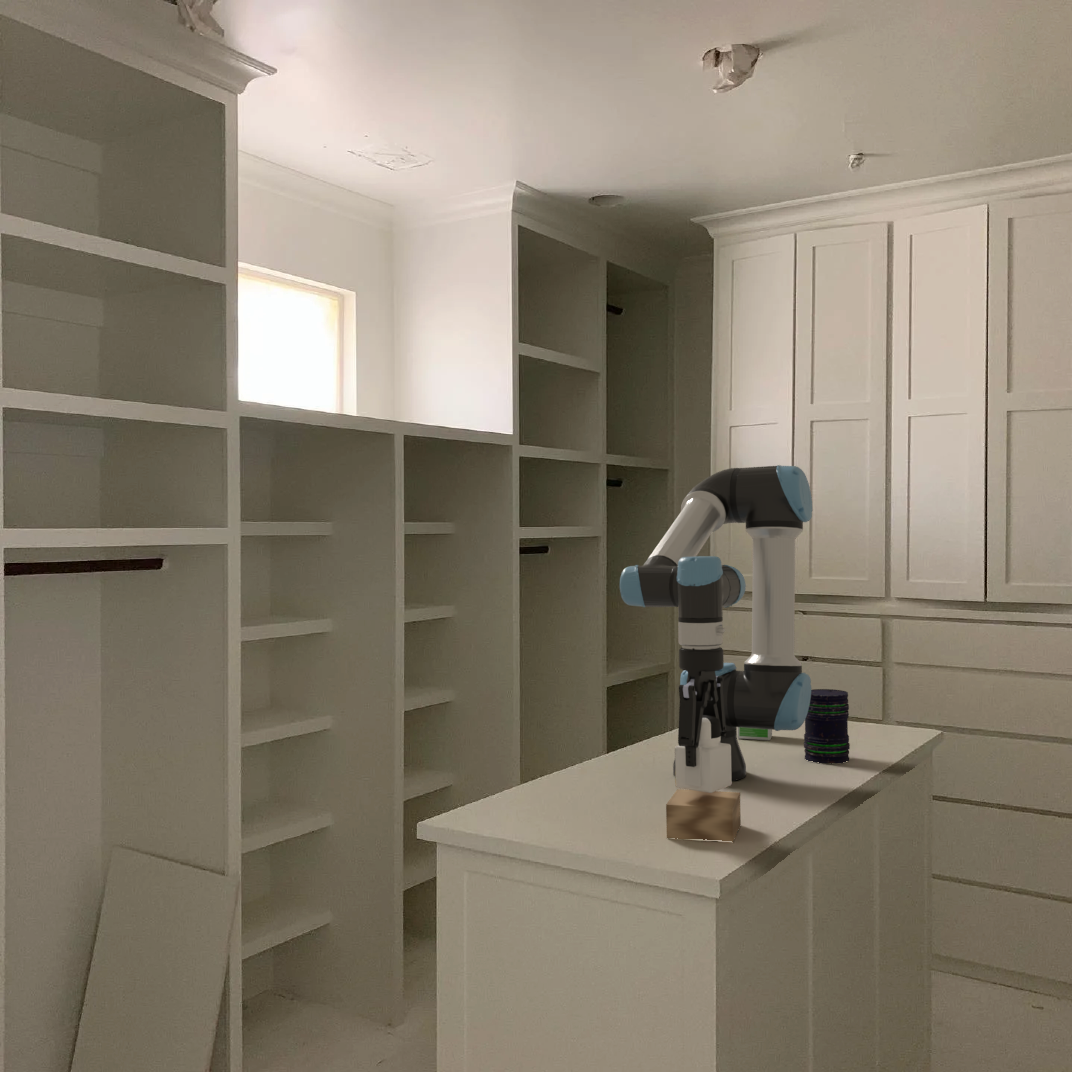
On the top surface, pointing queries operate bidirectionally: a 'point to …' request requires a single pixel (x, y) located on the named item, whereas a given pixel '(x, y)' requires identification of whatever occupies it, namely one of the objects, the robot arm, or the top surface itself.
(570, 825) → the top surface
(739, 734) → the skincare box
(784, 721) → the robot arm
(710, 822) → the oak box
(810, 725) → the storage jar
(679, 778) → the medicine bottle
